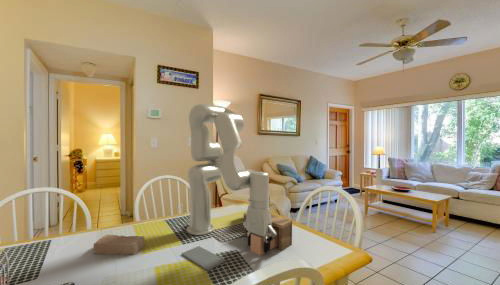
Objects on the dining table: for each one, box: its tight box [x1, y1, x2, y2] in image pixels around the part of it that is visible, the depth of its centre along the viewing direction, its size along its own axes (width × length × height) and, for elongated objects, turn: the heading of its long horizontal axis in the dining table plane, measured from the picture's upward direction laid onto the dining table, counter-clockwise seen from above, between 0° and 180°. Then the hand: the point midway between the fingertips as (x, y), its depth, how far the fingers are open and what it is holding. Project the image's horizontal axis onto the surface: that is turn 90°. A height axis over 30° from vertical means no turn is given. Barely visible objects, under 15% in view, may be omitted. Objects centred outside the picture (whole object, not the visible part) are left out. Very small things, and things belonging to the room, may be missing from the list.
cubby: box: [243, 211, 293, 252], centre depth 104 cm, size 21×7×10 cm, turn 48°
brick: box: [93, 234, 146, 255], centre depth 95 cm, size 17×8×5 cm, turn 89°
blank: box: [250, 226, 279, 256], centre depth 96 cm, size 5×12×7 cm, turn 137°
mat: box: [181, 245, 226, 272], centre depth 88 cm, size 16×8×1 cm, turn 48°
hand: (258, 247), depth 93 cm, fingers open, 7 cm apart
